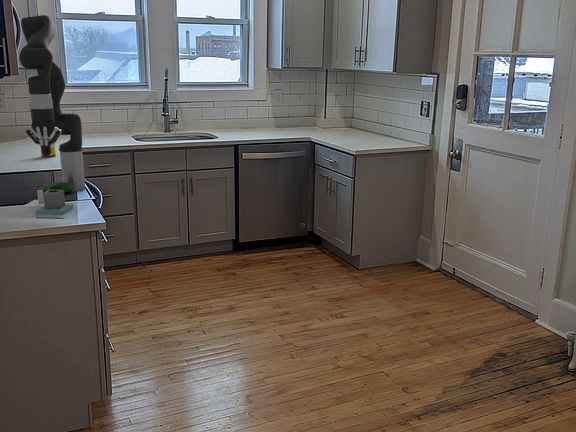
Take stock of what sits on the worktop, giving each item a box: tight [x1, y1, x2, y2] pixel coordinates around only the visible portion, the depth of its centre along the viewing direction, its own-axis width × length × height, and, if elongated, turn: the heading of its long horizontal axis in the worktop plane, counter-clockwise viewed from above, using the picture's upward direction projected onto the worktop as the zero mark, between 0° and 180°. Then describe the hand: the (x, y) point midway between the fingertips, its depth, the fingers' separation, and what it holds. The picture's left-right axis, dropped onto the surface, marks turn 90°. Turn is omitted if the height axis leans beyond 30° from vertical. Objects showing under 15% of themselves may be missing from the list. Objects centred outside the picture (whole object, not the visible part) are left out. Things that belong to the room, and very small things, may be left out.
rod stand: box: [23, 189, 44, 208], centre depth 233 cm, size 10×10×6 cm
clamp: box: [41, 181, 74, 195], centre depth 248 cm, size 12×6×9 cm, turn 94°
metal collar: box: [43, 190, 66, 209], centre depth 221 cm, size 5×5×6 cm
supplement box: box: [39, 136, 57, 158], centre depth 344 cm, size 6×6×11 cm
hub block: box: [35, 203, 75, 220], centre depth 221 cm, size 10×10×8 cm
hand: (46, 155), depth 214 cm, fingers closed
